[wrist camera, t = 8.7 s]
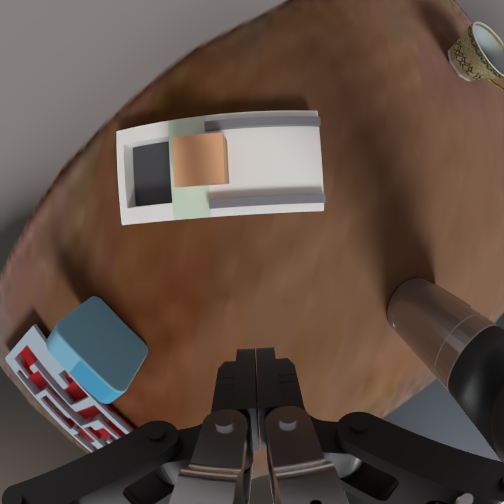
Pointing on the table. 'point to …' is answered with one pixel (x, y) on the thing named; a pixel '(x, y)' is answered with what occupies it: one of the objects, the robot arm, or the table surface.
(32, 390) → the maze game
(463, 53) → the ceramic cup
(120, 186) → the tray
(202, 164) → the terracotta cube
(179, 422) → the table surface
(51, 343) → the blue square slab
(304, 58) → the table surface
